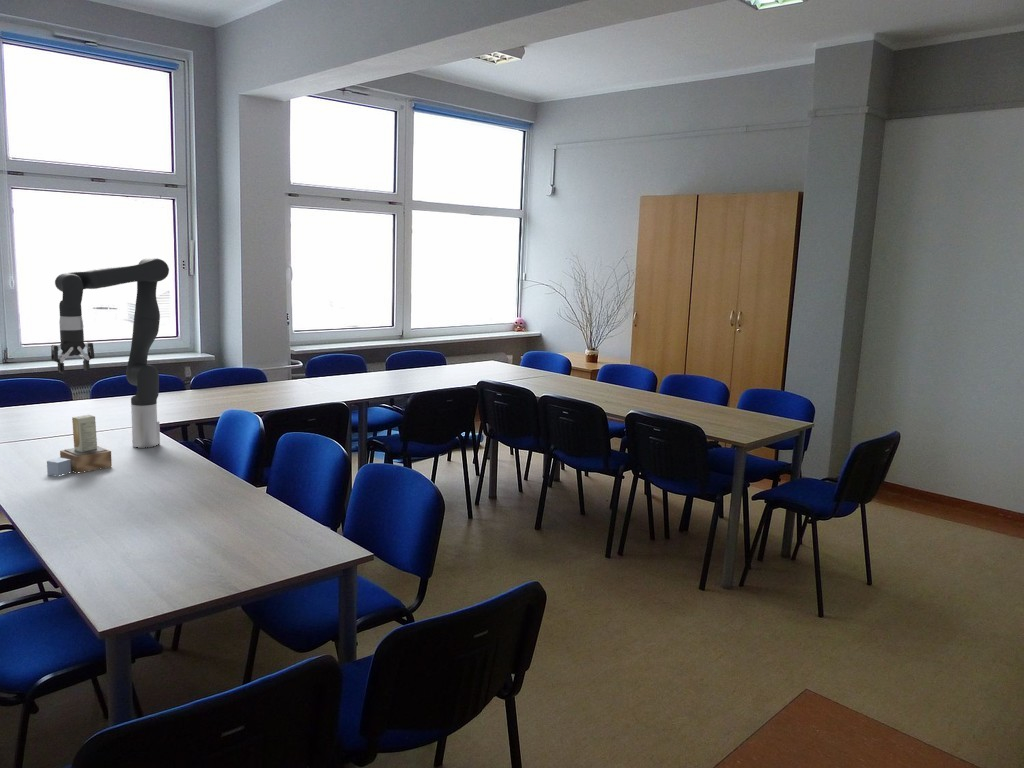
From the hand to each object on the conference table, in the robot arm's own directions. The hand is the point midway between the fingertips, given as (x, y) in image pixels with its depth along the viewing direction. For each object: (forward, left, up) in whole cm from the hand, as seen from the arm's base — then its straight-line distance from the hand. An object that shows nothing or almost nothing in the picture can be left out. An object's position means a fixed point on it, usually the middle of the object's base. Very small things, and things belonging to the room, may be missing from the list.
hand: (74, 371), depth 280 cm
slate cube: (+15, +20, -32) cm, 41 cm away
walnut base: (+5, +18, -32) cm, 37 cm away
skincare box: (+5, +18, -26) cm, 32 cm away
